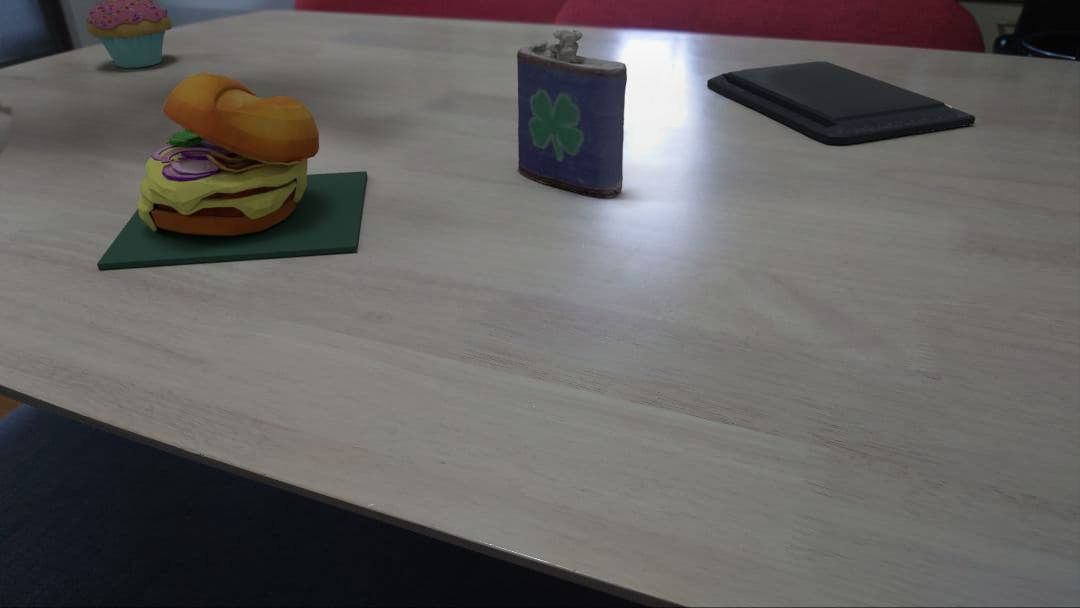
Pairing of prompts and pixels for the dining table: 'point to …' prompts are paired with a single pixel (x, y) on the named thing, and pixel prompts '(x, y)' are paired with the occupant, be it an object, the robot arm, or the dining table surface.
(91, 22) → the cupcake
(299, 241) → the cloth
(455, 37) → the dining table surface
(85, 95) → the dining table surface
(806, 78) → the wallet
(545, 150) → the flask
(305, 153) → the cheeseburger
